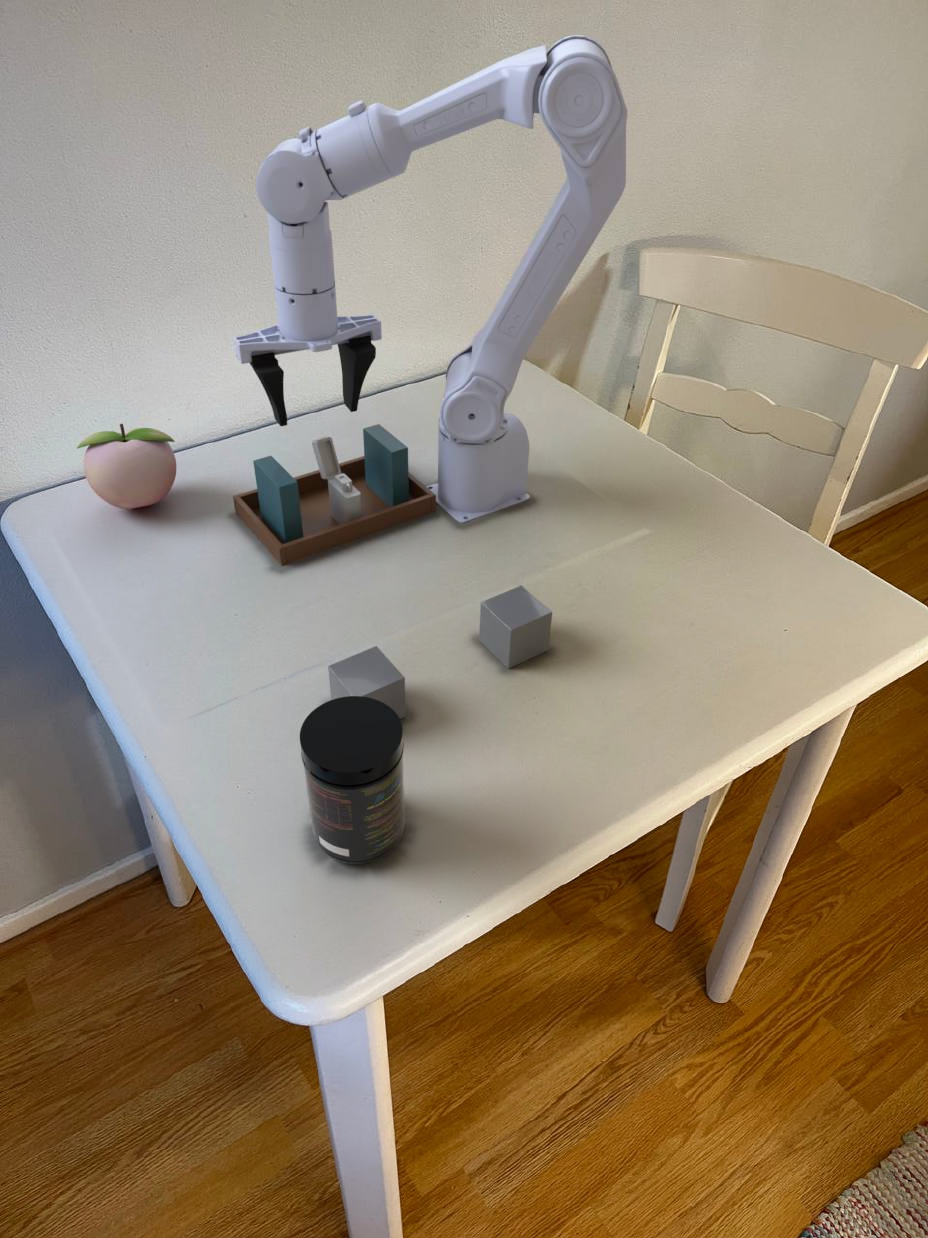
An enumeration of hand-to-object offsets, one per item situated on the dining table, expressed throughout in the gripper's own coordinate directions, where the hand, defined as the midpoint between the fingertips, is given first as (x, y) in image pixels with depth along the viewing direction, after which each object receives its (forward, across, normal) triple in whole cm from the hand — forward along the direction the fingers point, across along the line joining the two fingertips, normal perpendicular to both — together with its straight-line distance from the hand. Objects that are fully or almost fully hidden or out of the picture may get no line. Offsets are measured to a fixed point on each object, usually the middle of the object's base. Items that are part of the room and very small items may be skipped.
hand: (316, 414), depth 94 cm
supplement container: (+10, -13, -44) cm, 47 cm away
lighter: (+9, 0, -6) cm, 11 cm away
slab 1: (+9, -7, -6) cm, 13 cm away
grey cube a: (+9, +7, -31) cm, 33 cm away
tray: (+9, 0, -5) cm, 11 cm away
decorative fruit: (+10, -19, +5) cm, 22 cm away
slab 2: (+9, +6, -4) cm, 12 cm away
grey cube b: (+9, -8, -33) cm, 36 cm away
